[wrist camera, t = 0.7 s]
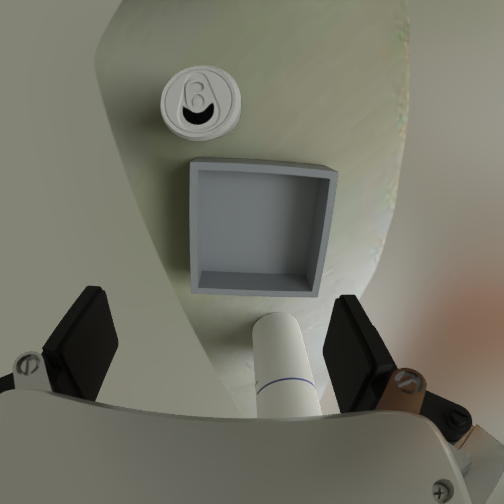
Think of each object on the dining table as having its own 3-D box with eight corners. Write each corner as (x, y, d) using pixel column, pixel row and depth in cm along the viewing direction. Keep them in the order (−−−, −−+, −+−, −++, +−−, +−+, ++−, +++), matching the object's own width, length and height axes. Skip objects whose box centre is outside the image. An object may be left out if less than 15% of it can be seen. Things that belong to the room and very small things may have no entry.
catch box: (197, 157, 32) (190, 162, 27) (325, 165, 33) (338, 172, 28) (196, 273, 38) (191, 293, 33) (309, 277, 39) (317, 297, 34)
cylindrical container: (308, 323, 42) (353, 476, 19) (282, 353, 44) (306, 499, 22) (268, 305, 40) (292, 475, 18) (243, 338, 43) (248, 496, 20)
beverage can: (187, 140, 31) (159, 148, 20) (182, 88, 28) (152, 68, 17) (242, 135, 31) (244, 138, 20) (238, 81, 28) (237, 56, 17)
